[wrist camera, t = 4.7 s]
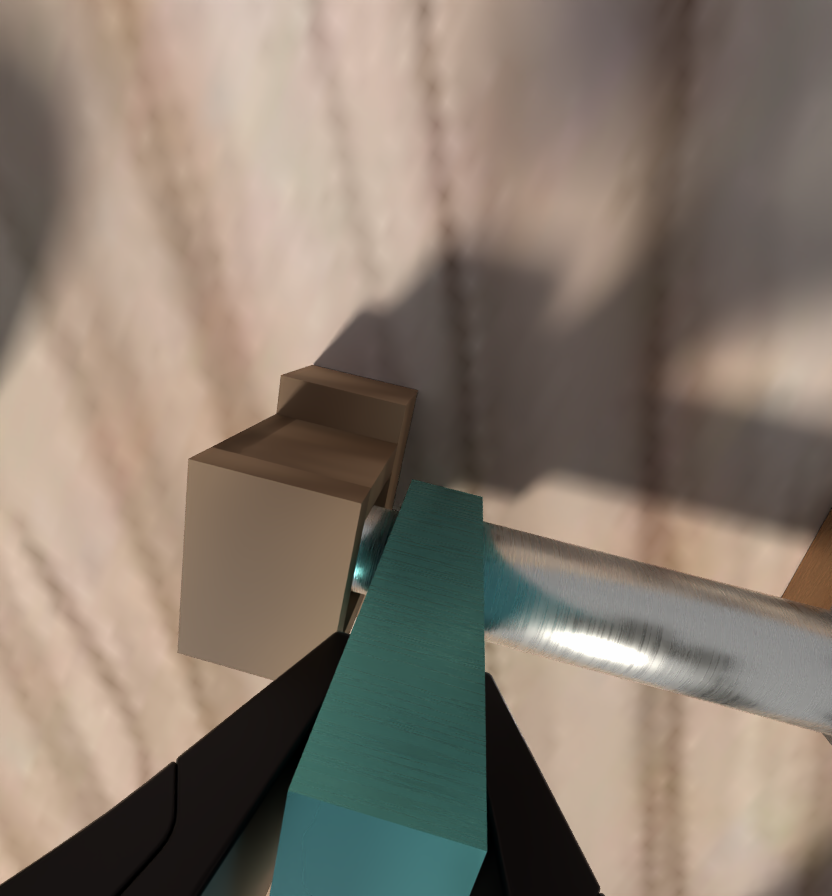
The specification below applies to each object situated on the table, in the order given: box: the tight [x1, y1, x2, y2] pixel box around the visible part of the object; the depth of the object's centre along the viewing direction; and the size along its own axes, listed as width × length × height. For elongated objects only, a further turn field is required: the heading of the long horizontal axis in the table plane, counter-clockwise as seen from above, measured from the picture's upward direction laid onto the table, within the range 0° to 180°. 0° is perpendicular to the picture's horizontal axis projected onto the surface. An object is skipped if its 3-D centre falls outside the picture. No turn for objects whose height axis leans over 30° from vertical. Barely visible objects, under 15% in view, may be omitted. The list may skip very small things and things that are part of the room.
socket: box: [178, 365, 418, 680], centre depth 12 cm, size 4×7×6 cm, turn 168°
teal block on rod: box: [270, 479, 832, 896], centre depth 9 cm, size 18×3×9 cm, turn 78°
